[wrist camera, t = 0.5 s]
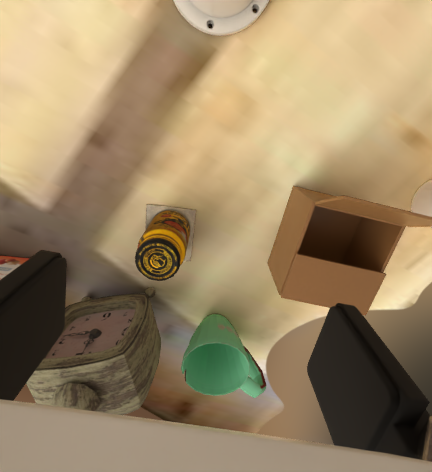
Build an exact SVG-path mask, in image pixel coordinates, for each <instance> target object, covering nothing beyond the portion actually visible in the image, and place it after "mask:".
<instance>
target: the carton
mask: <svg viewBox="0 0 432 472" xmlns="http://www.w3.org/2000/svg"><path fill="white" fill-rule="evenodd" d="M335 197H336V196H332V195H328V194H324V193H320V192H316V191H312V190H308V189H304V188H300V187H296V186H293V188H292V191H291V194H290V197H289V200H288V203H287V206H286V209H285V212H284V215H283V218H282V221H281V224H280V227H279V230H278V233H277V236H276V239H275V242H274V245H273V248H272V251H271V254H270V257H269V260H268V266H269V269H270V271H271V274H272V277H273V279H274V282H275V285H276V287H277V290H278V292H279V295H281V298H286V299H291V300H295V301H300V302H305V303H310V304H314V305H319V306H324V307H329V308H331V307H332V306H335V305H336V304H337V303H342V304H347V305H353V306H355V307H357V309H358V310H359V311H360V313H361V314H362V315H366V314H367V312H368V310H369V308H370V306H371V304H372V302H373V300H374V298H375V296H376V294H377V292H378V290H379V288H380V286H381V284H382V282H383V280H384V278H385V276H386V274H385V273H383V272H384V270H385V268H386V266H387V264H388V262H389V259H390V257H391V255H392V253H393V251H394V249H395V247H396V245H397V243H398V241H399V239H400V237H401V235H402V233H403V231H404V229H405V227H406V226H404V225H400V224H395V223H391V222H387V221H383V220H379V219H375V218H370V217H366V216H362V215H358V214H354V213H350V212H346V211H341V210H337V209H333V208H329V207H325V206H321V205H316V204H315V203H316V202H317V201H322V200H326V199H330V198H335Z"/></svg>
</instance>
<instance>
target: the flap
mask: <svg viewBox="0 0 432 472" xmlns="http://www.w3.org/2000/svg"><path fill="white" fill-rule="evenodd" d="M315 204H316V205H321V206H325V207H329V208H333V209H337V210H341V211H346V212H350V213H354V214H358V215H362V216H366V217H370V218H375V219H379V220H383V221H387V222H391V223H395V224H400V225H404V226H408V227H432V217H430V216H426V215H422V214H418V213H414V212H410V211H406V210H401V209H397V208H393V207H389V206H385V205H381V204H377V203H373V202H369V201H365V200H361V199H357V198H353V197H349V196H339V197H335V198H330V199H326V200H322V201H317V202H316V203H315Z"/></svg>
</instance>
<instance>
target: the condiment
mask: <svg viewBox="0 0 432 472" xmlns="http://www.w3.org/2000/svg"><path fill="white" fill-rule="evenodd" d="M195 214H196V210H191V209H183V208H175V207H166V206H156V205H148V204H147V208H146V231H145V232H144V234H143V235H142V237H141V238H140V240H139V243H138V248H137V252H136V256H135V259H136V260H135V262H136V266H137V268H138V270H139V271H140V272H141V273H142V274H143V275H144V276H146V277H147V278H149V279H151V280H157V281H162V280H167V279H169V278H171V277H173V276H174V274H175V273H177V271H178V269H179V267H180V265H181V264H182V263H183V261H191V253H192V243H193V234H194V224H195Z"/></svg>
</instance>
